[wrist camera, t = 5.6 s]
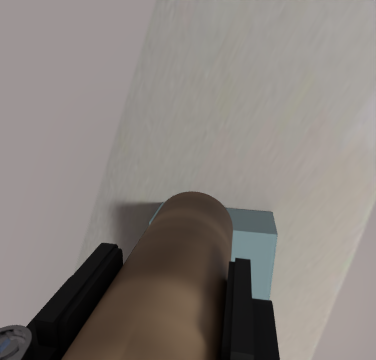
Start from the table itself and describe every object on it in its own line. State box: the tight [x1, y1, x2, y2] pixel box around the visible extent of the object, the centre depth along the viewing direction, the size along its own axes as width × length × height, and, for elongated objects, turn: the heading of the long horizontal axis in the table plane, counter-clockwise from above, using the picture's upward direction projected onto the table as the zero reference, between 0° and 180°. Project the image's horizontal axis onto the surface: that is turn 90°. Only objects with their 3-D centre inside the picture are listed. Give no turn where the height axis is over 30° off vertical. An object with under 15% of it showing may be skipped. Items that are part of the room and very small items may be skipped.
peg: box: [61, 192, 233, 360], centre depth 9 cm, size 4×4×14 cm
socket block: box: [149, 203, 278, 300], centre depth 33 cm, size 16×12×5 cm
